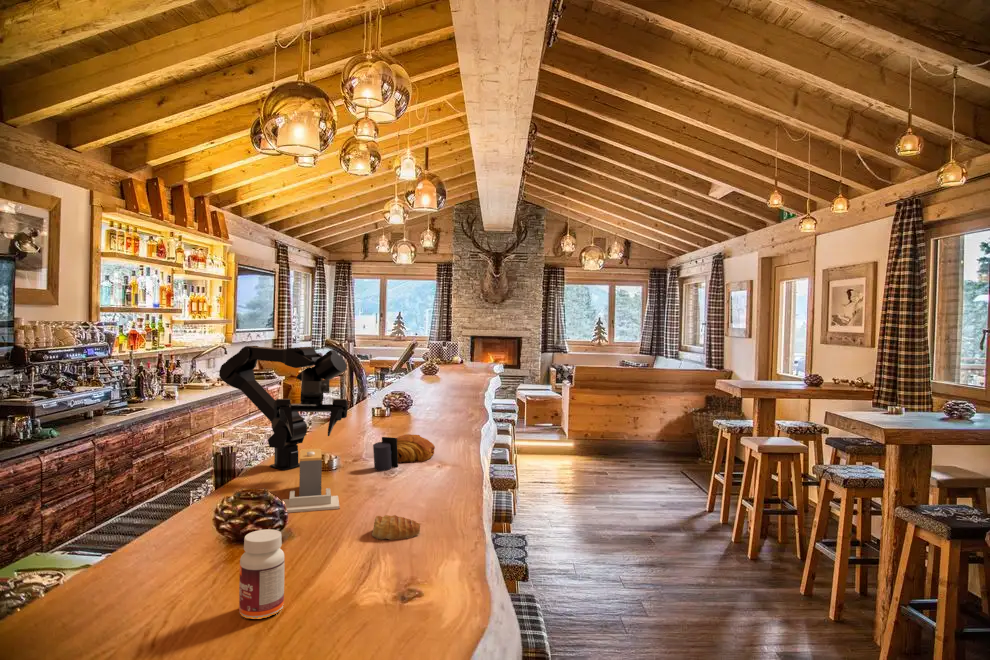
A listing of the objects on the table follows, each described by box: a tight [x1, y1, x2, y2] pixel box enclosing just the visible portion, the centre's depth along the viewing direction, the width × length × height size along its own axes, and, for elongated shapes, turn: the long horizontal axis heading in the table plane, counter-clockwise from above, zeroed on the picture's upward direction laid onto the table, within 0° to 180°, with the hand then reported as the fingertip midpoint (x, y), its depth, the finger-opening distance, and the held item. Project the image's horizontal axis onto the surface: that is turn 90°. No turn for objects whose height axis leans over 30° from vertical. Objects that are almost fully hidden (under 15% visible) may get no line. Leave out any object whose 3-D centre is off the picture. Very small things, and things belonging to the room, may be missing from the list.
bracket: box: [282, 487, 340, 514], centre depth 135 cm, size 8×13×2 cm, turn 107°
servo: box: [298, 447, 323, 497], centre depth 145 cm, size 10×5×10 cm, turn 17°
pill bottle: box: [238, 528, 285, 618], centre depth 87 cm, size 6×6×11 cm
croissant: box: [396, 433, 436, 463], centre depth 183 cm, size 14×16×8 cm
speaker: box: [372, 436, 399, 472], centre depth 169 cm, size 6×5×9 cm
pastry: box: [371, 514, 421, 541], centre depth 119 cm, size 9×7×4 cm
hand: (310, 435), depth 153 cm, fingers open, 9 cm apart
